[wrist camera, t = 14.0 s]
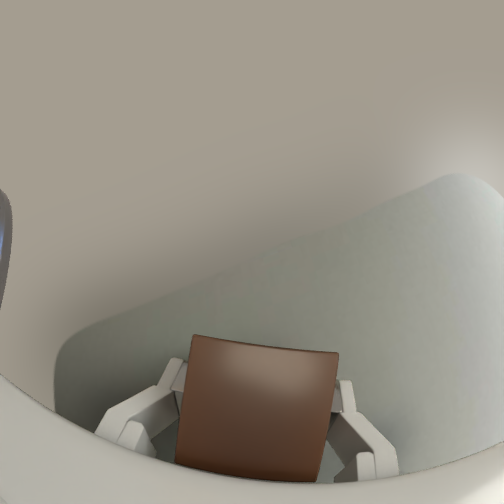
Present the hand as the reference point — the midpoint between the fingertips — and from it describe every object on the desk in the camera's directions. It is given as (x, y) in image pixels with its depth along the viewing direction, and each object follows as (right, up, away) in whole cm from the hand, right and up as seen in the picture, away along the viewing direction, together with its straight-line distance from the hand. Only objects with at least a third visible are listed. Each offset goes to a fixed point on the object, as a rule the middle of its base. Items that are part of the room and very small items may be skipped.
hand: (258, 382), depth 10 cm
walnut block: (0, -2, +4) cm, 4 cm away
